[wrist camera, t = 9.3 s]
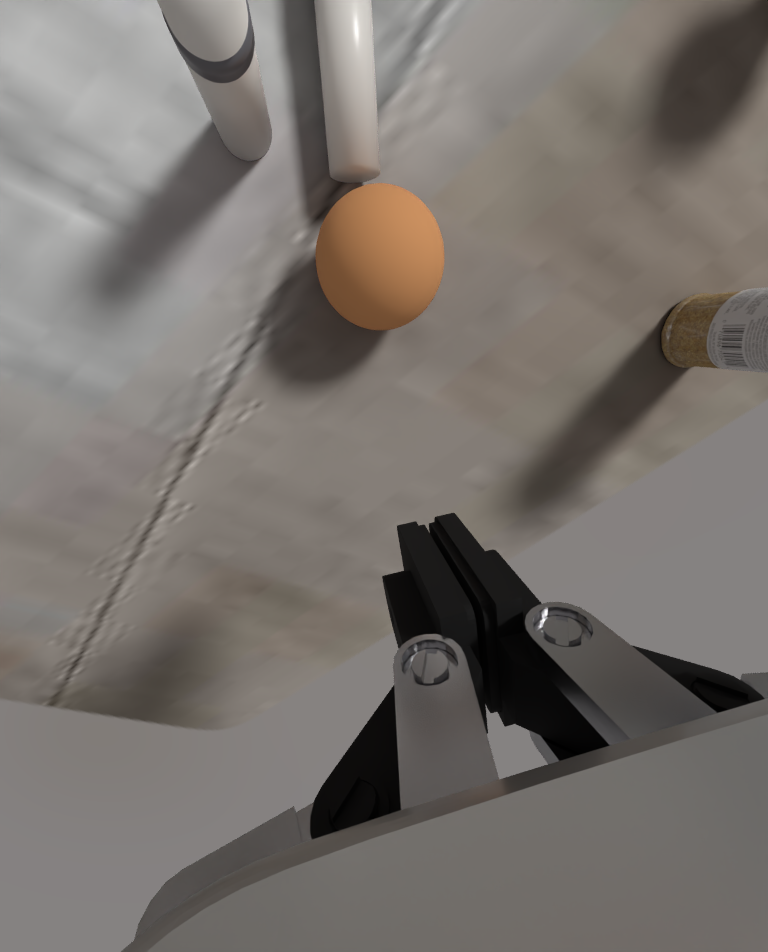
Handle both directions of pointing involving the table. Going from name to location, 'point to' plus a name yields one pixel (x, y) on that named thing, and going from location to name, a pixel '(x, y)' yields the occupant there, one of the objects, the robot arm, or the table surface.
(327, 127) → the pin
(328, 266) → the ball
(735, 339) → the sprinkles bottle
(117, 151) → the table surface
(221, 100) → the side pin
